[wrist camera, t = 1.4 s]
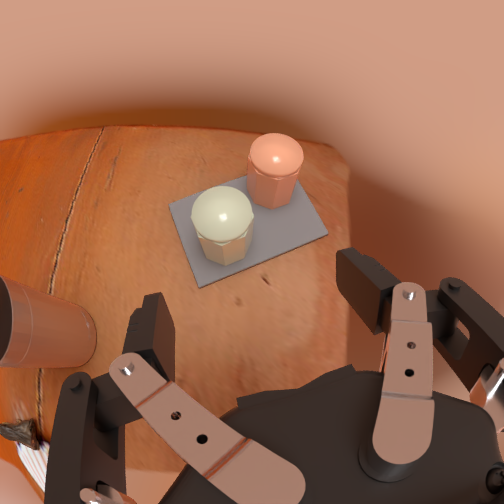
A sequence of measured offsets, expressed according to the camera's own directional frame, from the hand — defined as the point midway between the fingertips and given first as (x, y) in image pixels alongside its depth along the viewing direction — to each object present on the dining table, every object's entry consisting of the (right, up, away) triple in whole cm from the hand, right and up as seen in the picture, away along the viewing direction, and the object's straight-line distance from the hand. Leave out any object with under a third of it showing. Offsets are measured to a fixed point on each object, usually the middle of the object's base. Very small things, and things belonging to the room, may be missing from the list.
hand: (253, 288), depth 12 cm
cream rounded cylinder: (-4, +3, +25) cm, 26 cm away
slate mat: (-1, +6, +27) cm, 28 cm away
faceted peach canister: (+3, +11, +28) cm, 30 cm away
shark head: (-37, -27, +15) cm, 48 cm away
